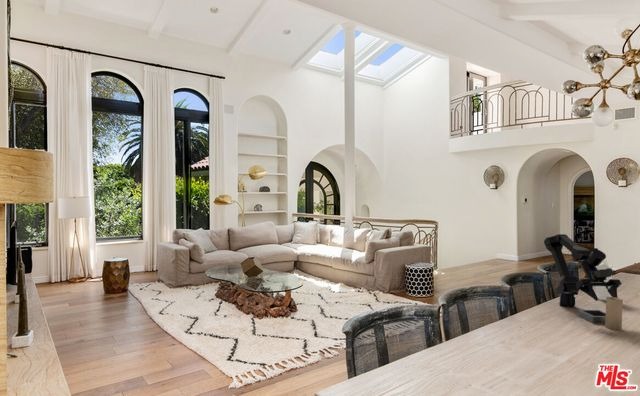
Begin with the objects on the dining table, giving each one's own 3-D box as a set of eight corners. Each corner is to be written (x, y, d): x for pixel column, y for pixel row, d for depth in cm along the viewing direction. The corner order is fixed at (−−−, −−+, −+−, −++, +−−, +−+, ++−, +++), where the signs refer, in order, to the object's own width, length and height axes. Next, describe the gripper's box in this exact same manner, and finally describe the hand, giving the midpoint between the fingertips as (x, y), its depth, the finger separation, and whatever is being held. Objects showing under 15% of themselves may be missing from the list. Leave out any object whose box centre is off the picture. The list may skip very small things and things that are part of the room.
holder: (578, 315, 199) (578, 309, 198) (598, 316, 199) (598, 310, 199) (592, 322, 189) (593, 316, 188) (613, 323, 189) (614, 316, 189)
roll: (606, 328, 181) (607, 299, 181) (603, 324, 187) (605, 296, 186) (622, 330, 179) (624, 301, 178) (619, 326, 184) (621, 298, 184)
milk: (611, 299, 229) (613, 260, 229) (608, 301, 225) (610, 261, 224) (598, 297, 234) (600, 258, 233) (595, 298, 230) (597, 260, 229)
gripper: (580, 261, 191) (596, 291, 181) (619, 262, 192) (637, 291, 181) (569, 274, 199) (583, 303, 189) (606, 275, 200) (623, 304, 189)
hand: (607, 300), depth 187 cm, fingers open, 9 cm apart
